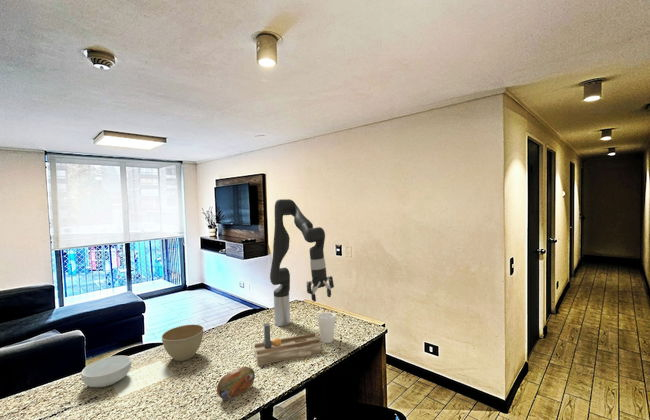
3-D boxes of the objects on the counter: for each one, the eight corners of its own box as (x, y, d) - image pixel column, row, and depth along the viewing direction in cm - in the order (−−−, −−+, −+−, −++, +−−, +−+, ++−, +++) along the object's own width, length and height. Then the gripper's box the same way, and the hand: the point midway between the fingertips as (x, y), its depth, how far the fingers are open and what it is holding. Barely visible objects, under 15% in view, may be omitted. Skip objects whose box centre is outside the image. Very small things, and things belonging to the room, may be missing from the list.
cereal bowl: (92, 399, 115) (92, 381, 115) (74, 386, 124) (74, 369, 123) (139, 377, 129) (139, 360, 129) (120, 366, 138) (120, 351, 138)
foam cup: (336, 336, 162) (335, 312, 162) (335, 344, 153) (334, 318, 153) (319, 336, 163) (318, 312, 163) (316, 344, 154) (316, 318, 153)
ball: (272, 345, 145) (271, 337, 145) (280, 343, 147) (280, 335, 147) (273, 349, 141) (273, 340, 141) (282, 347, 143) (281, 339, 143)
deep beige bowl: (191, 344, 158) (190, 321, 158) (212, 353, 147) (211, 329, 147) (155, 360, 143) (154, 334, 143) (175, 371, 133) (174, 343, 132)
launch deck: (254, 353, 146) (254, 342, 146) (313, 341, 156) (313, 331, 156) (257, 365, 135) (257, 353, 135) (321, 352, 145) (320, 341, 145)
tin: (220, 404, 109) (219, 381, 109) (216, 401, 111) (215, 378, 111) (255, 385, 120) (254, 364, 120) (251, 382, 122) (250, 361, 122)
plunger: (263, 346, 144) (262, 323, 144) (270, 345, 145) (269, 322, 145) (265, 350, 140) (264, 326, 140) (271, 349, 141) (270, 325, 141)
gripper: (326, 263, 159) (330, 294, 160) (302, 269, 152) (306, 301, 152) (334, 265, 153) (337, 297, 153) (309, 271, 146) (312, 304, 146)
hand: (321, 299), depth 153 cm, fingers open, 8 cm apart
